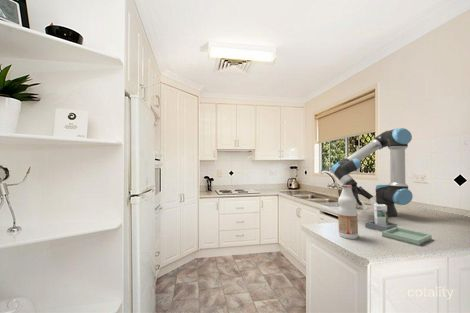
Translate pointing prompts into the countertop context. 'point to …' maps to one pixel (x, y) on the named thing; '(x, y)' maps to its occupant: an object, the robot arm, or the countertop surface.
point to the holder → (380, 226)
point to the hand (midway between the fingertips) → (372, 208)
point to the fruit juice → (347, 214)
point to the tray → (407, 236)
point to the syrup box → (380, 214)
